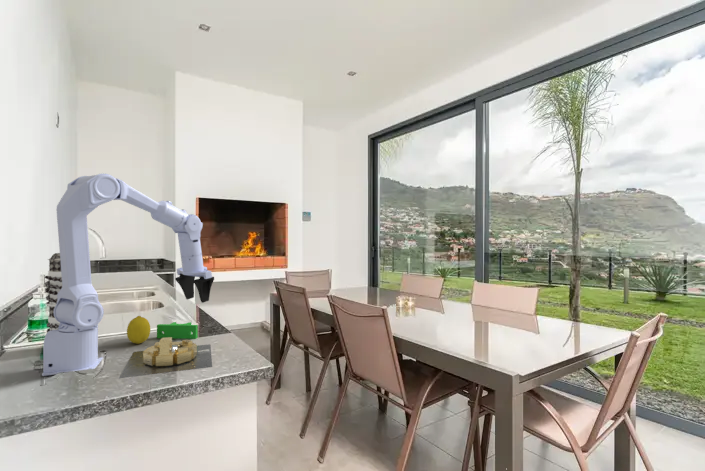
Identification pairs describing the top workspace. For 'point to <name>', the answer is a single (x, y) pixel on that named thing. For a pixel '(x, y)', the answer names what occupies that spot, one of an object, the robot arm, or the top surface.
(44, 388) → the top surface
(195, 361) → the dark grey square slab
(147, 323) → the lemon
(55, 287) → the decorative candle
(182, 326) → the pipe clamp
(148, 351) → the tan segmented ring
